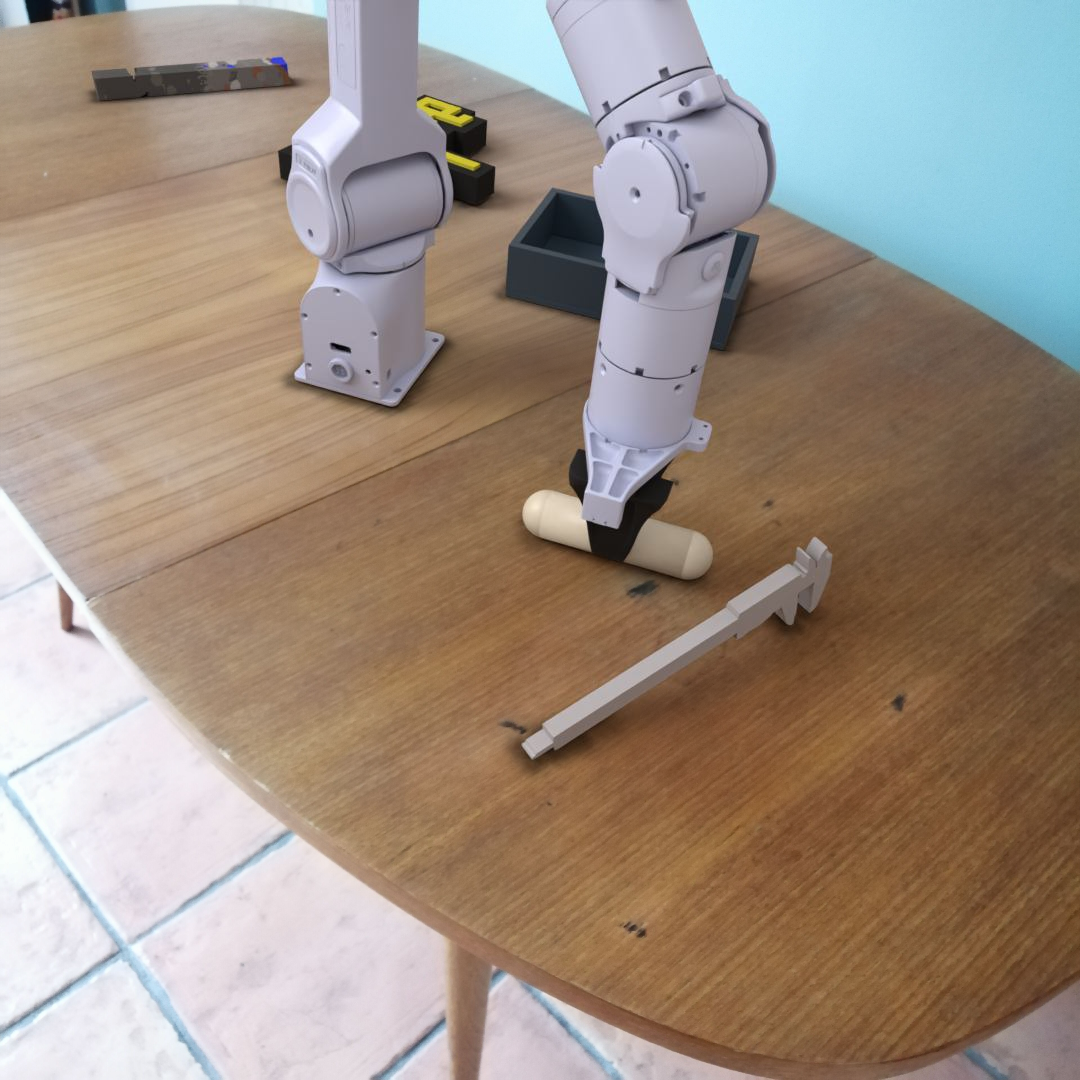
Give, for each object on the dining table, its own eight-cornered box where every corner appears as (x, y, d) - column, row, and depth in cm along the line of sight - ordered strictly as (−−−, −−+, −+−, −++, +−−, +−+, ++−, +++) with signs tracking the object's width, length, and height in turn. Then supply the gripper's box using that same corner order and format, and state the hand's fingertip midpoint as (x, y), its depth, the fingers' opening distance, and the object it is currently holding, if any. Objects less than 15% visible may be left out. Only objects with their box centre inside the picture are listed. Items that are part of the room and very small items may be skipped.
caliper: (801, 601, 61) (831, 526, 56) (814, 613, 60) (845, 538, 56) (520, 748, 52) (530, 672, 47) (532, 764, 51) (543, 688, 47)
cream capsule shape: (702, 595, 60) (712, 560, 58) (514, 540, 62) (517, 504, 60) (711, 562, 63) (722, 527, 60) (529, 510, 65) (533, 474, 62)
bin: (723, 350, 80) (735, 299, 77) (504, 296, 83) (508, 244, 80) (747, 283, 88) (759, 234, 84) (547, 235, 91) (552, 187, 88)
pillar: (91, 70, 103) (284, 56, 110) (96, 92, 104) (286, 77, 112) (94, 78, 102) (290, 63, 109) (99, 100, 103) (292, 84, 110)
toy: (268, 144, 92) (399, 83, 105) (272, 178, 94) (399, 114, 107) (430, 203, 86) (547, 131, 99) (429, 238, 89) (544, 163, 101)
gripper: (699, 449, 46) (651, 639, 56) (751, 298, 56) (703, 481, 66) (553, 410, 47) (531, 602, 57) (630, 269, 58) (600, 452, 67)
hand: (616, 535), depth 61 cm, fingers closed on cream capsule shape, 3 cm apart
